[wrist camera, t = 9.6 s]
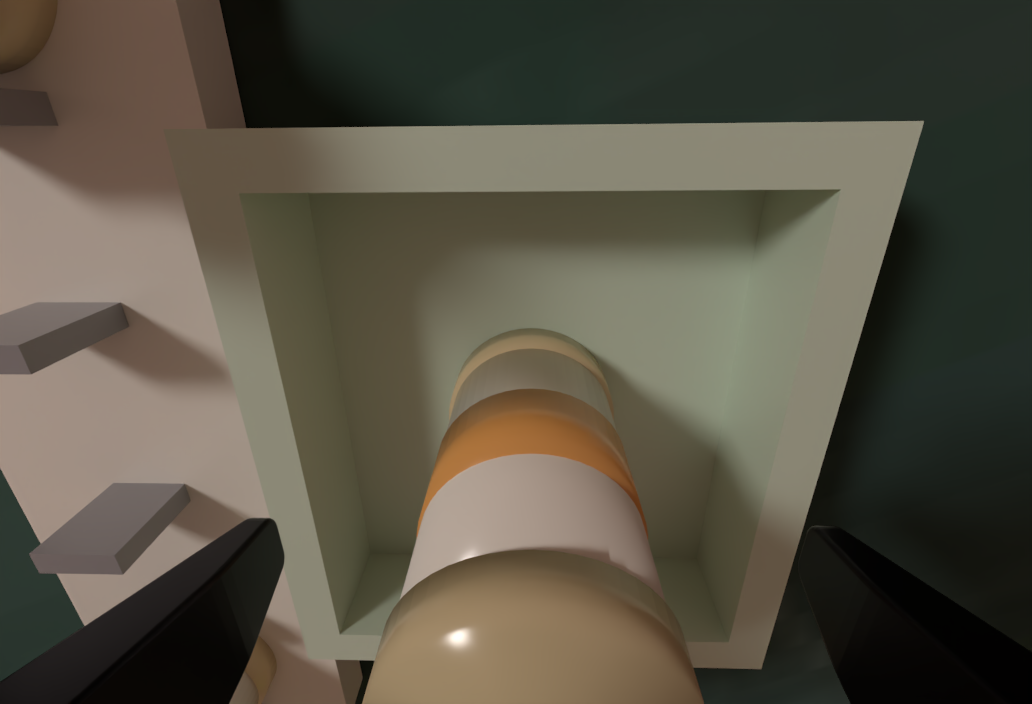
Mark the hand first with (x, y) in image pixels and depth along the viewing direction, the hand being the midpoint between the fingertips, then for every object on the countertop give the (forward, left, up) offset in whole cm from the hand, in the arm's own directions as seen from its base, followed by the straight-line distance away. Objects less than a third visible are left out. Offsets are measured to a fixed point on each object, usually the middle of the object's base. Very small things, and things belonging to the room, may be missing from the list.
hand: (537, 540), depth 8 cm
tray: (0, 0, -6) cm, 6 cm away
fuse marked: (0, 0, -5) cm, 5 cm away
